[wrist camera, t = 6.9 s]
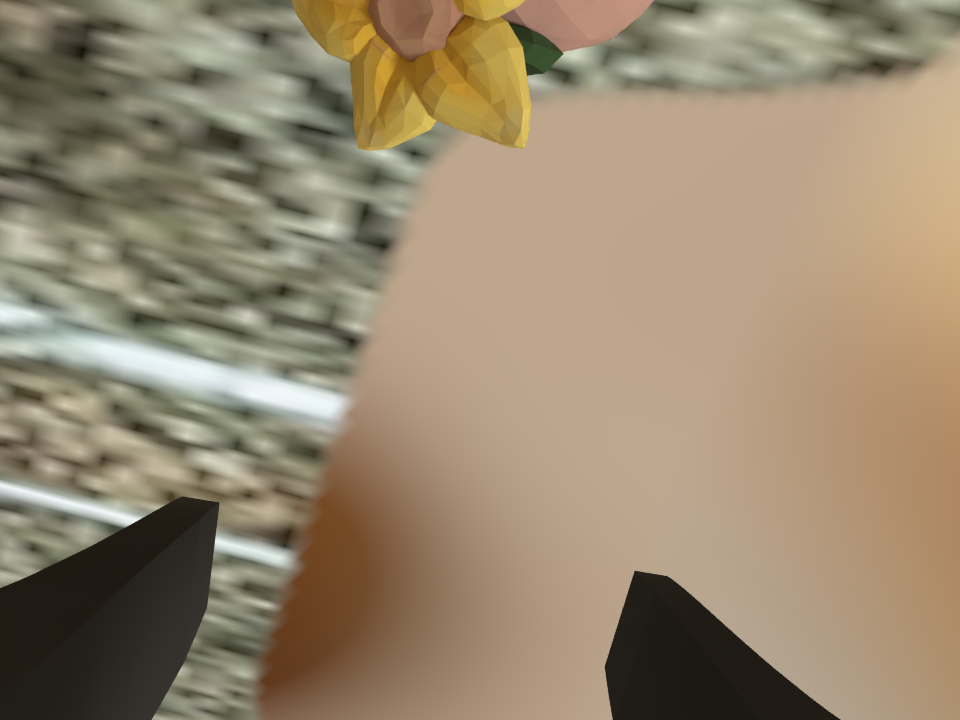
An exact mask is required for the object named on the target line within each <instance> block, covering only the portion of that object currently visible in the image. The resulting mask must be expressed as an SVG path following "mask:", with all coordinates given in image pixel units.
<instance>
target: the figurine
mask: <svg viewBox="0 0 960 720" xmlns="http://www.w3.org/2000/svg"><path fill="white" fill-rule="evenodd" d="M291 1H292V4H293V7H294V9H295V12H296V14H297V16H298V17H299V19H300V20H301V21H302V23H303V24H304V26H305V27H306V29H307V30H308V32H309V33H310V34H311V36H312V37H313V38H314V39H315V40H316V41H317V43H318V44H319V45H320V46H321V47H322V48H323V49H324V50H325V51H326V52H327V53H328V54H330V55H332V56H335V57H337V58H340V59H342V60H345V61H347V62H350V72H351V82H352V93H353V108H354V130H355V135H356V140H357V145H358V148H359V149H363V150H367V151H371V150H382V149H389V148H392V147H394V146H396V145H398V144H400V143H402V142H405V141H407V140H409V139H411V138H413V137H415V136H418V135H420V134H422V133H424V132H426V131H429V130H430V129H431V128H432V127H433V125H434V124H435V122H436V121H439V122H441V123H444V124H446V125H448V126H450V127H453V128H455V129H458V130H461V131H464V132H467V133H470V134H473V135H477V136H479V137H483V138H485V139H488V140H491V141H493V142H496V143H499V144H502V145H504V146H507V147H512V148H524V146H525V143H526V141H527V138H528V133H529V125H530V117H531V102H530V95H529V88H528V81H527V76H528V75H534V74H543V73H545V72H546V71H547V70H548V69H549V68H550V67H551V66H552V65H553V64H554V63H555V62H556V61H557V60H558V59H559V58H560V57H561V56H562V55H563V53H562V52H564V51H569V50H574V49H579V48H584V47H588V46H593V45H597V44H599V43H602V42H604V41H607V40H609V39H611V38H613V37H614V36H615V35H617V34H618V33H619V32H621V31H622V30H623V29H624V28H626V27H627V26H628V25H629V24H631V23H632V22H633V21H634V20H635V19H637V18H638V17H639V16H640V15H641V14H642V13H643V12H644V11H645V10H646V9H647V7H648V6H649V5H650V4H651V3H652V2H653V1H654V0H291Z"/></svg>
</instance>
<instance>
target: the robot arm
mask: <svg viewBox="0 0 960 720" xmlns="http://www.w3.org/2000/svg"><path fill="white" fill-rule="evenodd" d="M218 511H219V502H213V501H206V500H200V499H194V498H188V497H180V498H178V499H176V500H174V501H172V502H170V503H169V504H167V505H165V506H163V507H161V508H160V509H158V510H156V511H154V512H152V513H151V514H149V515H147V516H145V517H144V518H142V519H140V520H138V521H137V522H135V523H133V524H131V525H129V526H128V527H126V528H124V529H122V530H120V531H118V532H116V533H115V534H113V535H111V536H109V537H107V538H105V539H104V540H102V541H100V542H98V543H96V544H94V545H92V546H91V547H89V548H87V549H84V550H82V551H80V552H78V553H76V554H74V555H72V556H70V557H68V558H66V559H64V560H62V561H60V562H58V563H56V564H53V565H51V566H49V567H47V568H45V569H43V570H41V571H39V572H37V573H35V574H33V575H30V576H28V577H26V578H24V579H21V580H19V581H17V582H14V583H12V584H10V585H7V586H5V587H2V588H0V720H152V718H153V716H154V714H155V713H156V711H157V709H158V707H159V706H160V704H161V702H162V700H163V699H164V697H165V695H166V693H167V692H168V690H169V688H170V686H171V685H172V683H173V681H174V679H175V678H176V676H177V674H178V672H179V670H180V669H181V667H182V665H183V663H184V661H185V659H186V656H187V654H188V652H189V649H190V647H191V645H192V642H193V640H194V638H195V635H196V633H197V630H198V628H199V626H200V623H201V621H202V618H203V616H204V613H205V611H206V608H207V602H208V594H209V586H210V577H211V569H212V561H213V553H214V544H215V536H216V528H217V519H218ZM605 672H606V679H607V686H608V693H609V700H610V706H611V712H612V717H613V720H840V719H839V718H837V717H836V716H834V715H833V714H831V713H830V712H829V711H827V710H826V709H825V708H823V707H822V706H821V705H819V704H818V703H817V702H816V701H814V700H813V699H812V698H810V697H809V696H808V695H806V694H805V693H804V692H803V691H801V690H800V689H799V688H798V687H797V686H795V685H794V684H793V683H792V682H790V681H789V680H788V679H787V678H785V677H784V676H783V675H782V674H780V673H779V672H778V671H776V670H775V669H774V668H773V667H772V666H771V665H770V664H768V663H767V662H766V661H765V660H764V659H763V658H761V657H760V656H759V655H758V654H757V653H756V652H754V651H753V650H752V649H751V648H750V647H749V646H748V645H746V644H745V643H744V642H743V641H742V640H741V639H740V638H738V637H737V636H736V635H735V634H734V633H733V632H732V631H731V630H730V629H728V628H727V627H726V626H725V625H724V624H723V623H722V622H721V621H720V620H719V619H717V618H716V617H715V616H714V615H713V614H712V613H711V612H710V611H709V610H708V609H706V608H705V607H704V606H703V605H702V604H701V603H700V602H699V601H697V600H696V599H695V598H694V597H693V596H692V595H691V594H689V593H688V592H687V591H686V590H685V589H684V588H682V587H681V586H680V585H679V584H677V583H676V582H675V581H673V580H672V579H671V578H669V577H668V576H663V575H657V574H651V573H645V572H639V571H635V572H634V575H633V578H632V581H631V584H630V588H629V591H628V594H627V597H626V601H625V604H624V607H623V610H622V613H621V617H620V620H619V623H618V626H617V629H616V632H615V635H614V639H613V642H612V645H611V648H610V652H609V655H608V658H607V661H606V664H605Z"/></svg>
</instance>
